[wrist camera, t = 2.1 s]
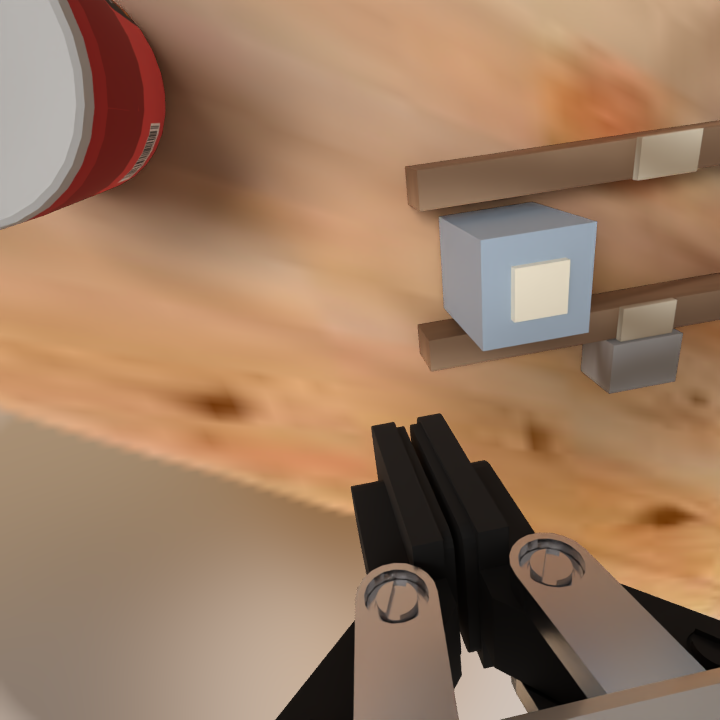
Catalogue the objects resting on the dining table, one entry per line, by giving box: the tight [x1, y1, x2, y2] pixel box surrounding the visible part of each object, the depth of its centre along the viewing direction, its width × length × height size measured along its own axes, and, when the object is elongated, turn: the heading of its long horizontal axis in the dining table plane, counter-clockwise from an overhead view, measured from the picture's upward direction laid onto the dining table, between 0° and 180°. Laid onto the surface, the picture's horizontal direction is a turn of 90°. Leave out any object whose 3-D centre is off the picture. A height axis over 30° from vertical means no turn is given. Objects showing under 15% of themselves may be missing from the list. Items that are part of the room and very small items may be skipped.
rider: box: [439, 202, 597, 351], centre depth 25 cm, size 5×5×6 cm
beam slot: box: [405, 120, 720, 394], centre depth 28 cm, size 13×26×3 cm, turn 97°
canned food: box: [0, 0, 165, 230], centre depth 17 cm, size 8×8×11 cm
